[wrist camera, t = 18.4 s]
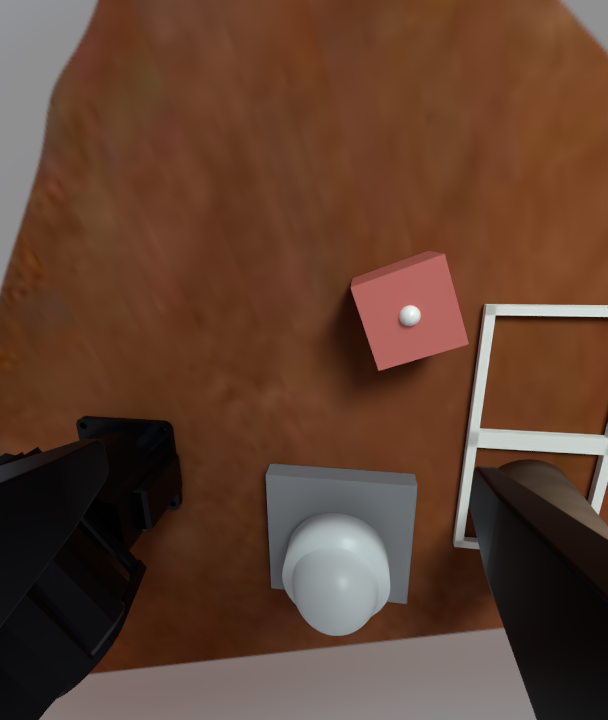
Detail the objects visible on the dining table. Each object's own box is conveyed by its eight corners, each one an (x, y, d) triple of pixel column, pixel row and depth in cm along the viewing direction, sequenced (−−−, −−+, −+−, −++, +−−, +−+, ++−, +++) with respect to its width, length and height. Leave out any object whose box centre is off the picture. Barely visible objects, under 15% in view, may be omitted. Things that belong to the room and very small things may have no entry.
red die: (375, 347, 21) (379, 374, 17) (352, 278, 20) (350, 288, 16) (448, 324, 20) (471, 346, 16) (428, 250, 19) (446, 254, 15)
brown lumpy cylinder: (477, 528, 24) (594, 837, 12) (484, 457, 22) (628, 728, 10) (565, 533, 23) (792, 873, 11) (578, 461, 21) (860, 759, 9)
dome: (290, 581, 25) (275, 658, 20) (288, 504, 23) (270, 569, 18) (384, 592, 24) (390, 675, 19) (390, 513, 22) (397, 583, 18)
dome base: (275, 573, 27) (271, 588, 26) (270, 463, 24) (265, 474, 23) (404, 588, 26) (406, 604, 25) (414, 473, 23) (417, 486, 22)
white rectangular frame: (452, 542, 24) (454, 546, 24) (484, 304, 20) (486, 305, 19) (582, 554, 23) (586, 559, 23) (648, 305, 19) (654, 307, 18)
